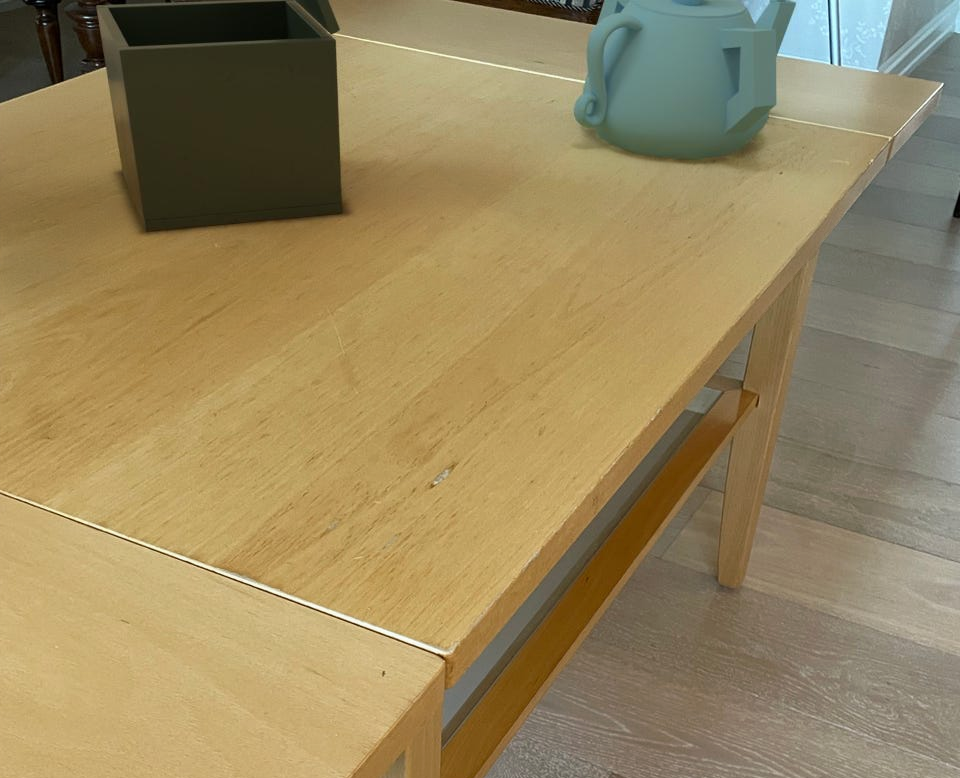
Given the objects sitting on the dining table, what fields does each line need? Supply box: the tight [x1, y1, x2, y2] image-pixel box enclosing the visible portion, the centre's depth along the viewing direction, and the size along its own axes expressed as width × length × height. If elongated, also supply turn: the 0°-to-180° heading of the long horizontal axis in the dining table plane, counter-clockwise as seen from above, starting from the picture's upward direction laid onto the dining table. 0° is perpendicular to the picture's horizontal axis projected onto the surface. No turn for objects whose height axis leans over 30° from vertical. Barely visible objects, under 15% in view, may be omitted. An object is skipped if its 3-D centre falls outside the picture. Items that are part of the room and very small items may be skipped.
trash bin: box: [96, 0, 343, 232], centre depth 92 cm, size 16×14×13 cm
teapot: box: [573, 0, 797, 160], centre depth 108 cm, size 19×19×14 cm
